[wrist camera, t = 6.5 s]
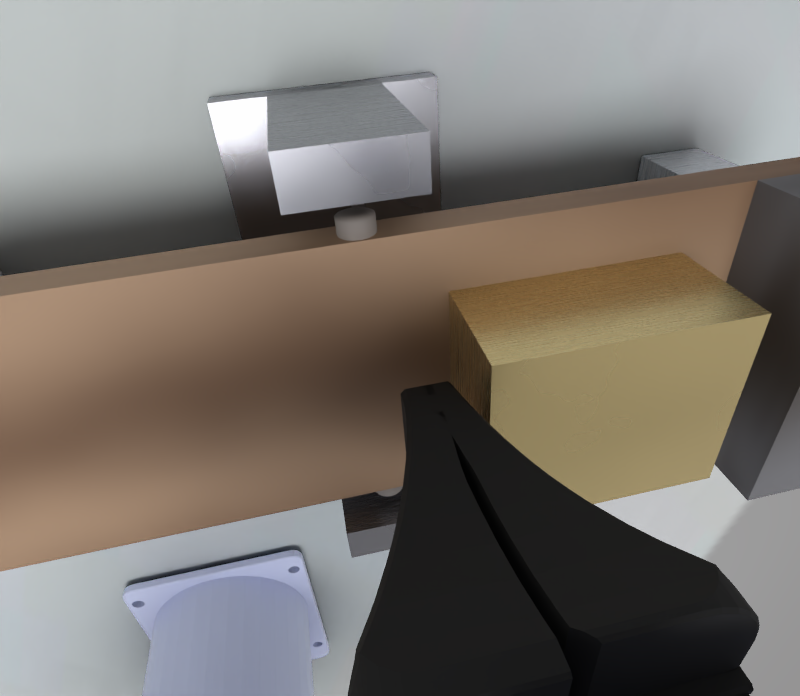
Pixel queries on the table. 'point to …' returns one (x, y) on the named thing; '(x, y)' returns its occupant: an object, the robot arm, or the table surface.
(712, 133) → the table surface
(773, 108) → the table surface
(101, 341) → the beam
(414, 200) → the stand
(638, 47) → the table surface
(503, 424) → the block
